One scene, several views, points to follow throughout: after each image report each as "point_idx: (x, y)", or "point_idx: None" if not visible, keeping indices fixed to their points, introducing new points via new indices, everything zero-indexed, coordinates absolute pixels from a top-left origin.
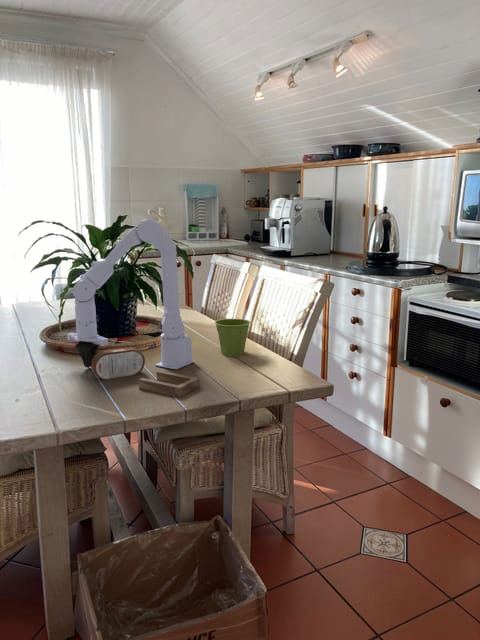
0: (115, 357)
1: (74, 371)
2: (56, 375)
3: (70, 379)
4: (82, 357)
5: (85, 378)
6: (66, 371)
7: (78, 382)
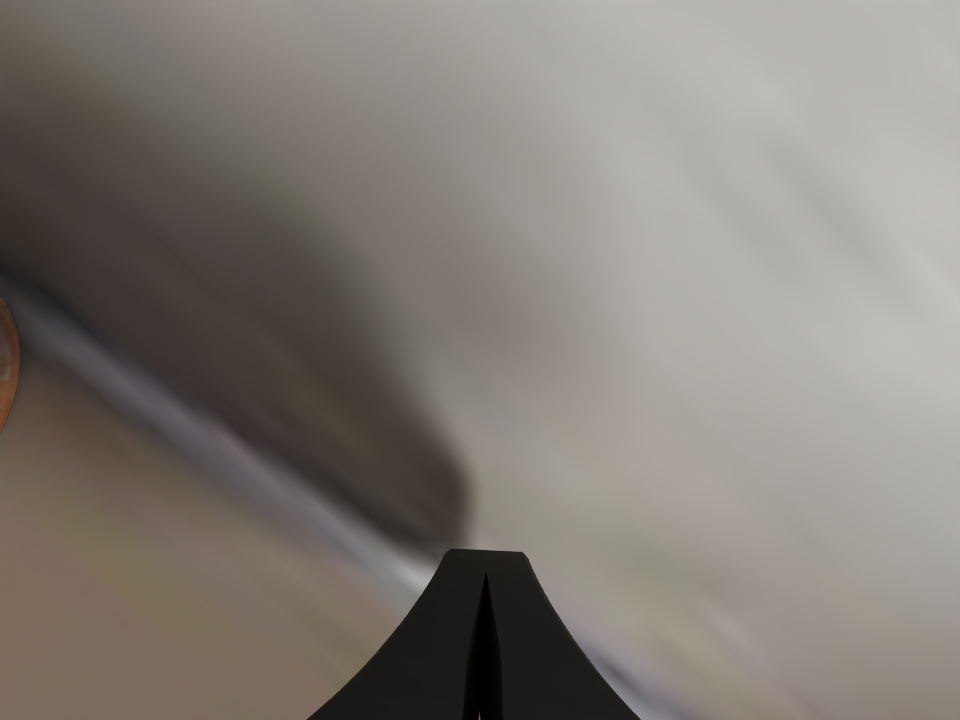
0: None
1: (676, 439)
2: (812, 132)
3: (420, 82)
4: (545, 645)
5: (244, 251)
6: (800, 381)
7: (171, 24)
